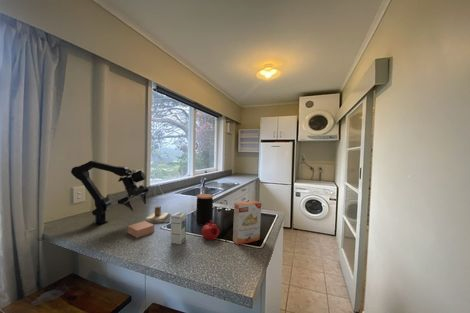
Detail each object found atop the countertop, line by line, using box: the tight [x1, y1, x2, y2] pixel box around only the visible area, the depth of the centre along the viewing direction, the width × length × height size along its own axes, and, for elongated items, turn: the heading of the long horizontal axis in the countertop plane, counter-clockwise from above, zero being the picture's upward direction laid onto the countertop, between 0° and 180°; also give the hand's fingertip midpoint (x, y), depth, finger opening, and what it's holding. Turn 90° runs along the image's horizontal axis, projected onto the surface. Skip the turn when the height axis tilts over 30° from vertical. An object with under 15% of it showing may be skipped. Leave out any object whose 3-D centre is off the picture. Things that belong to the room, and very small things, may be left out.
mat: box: [143, 213, 172, 225], centre depth 134 cm, size 16×16×1 cm
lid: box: [145, 205, 170, 222], centre depth 134 cm, size 11×11×8 cm
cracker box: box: [232, 200, 262, 246], centre depth 106 cm, size 14×6×21 cm, turn 117°
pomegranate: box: [201, 220, 220, 241], centre depth 109 cm, size 10×10×9 cm
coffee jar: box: [195, 193, 214, 226], centre depth 131 cm, size 11×11×18 cm
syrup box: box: [170, 211, 187, 245], centre depth 103 cm, size 6×6×14 cm
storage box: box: [127, 220, 155, 239], centre depth 113 cm, size 10×10×4 cm
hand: (139, 207), depth 129 cm, fingers open, 9 cm apart
